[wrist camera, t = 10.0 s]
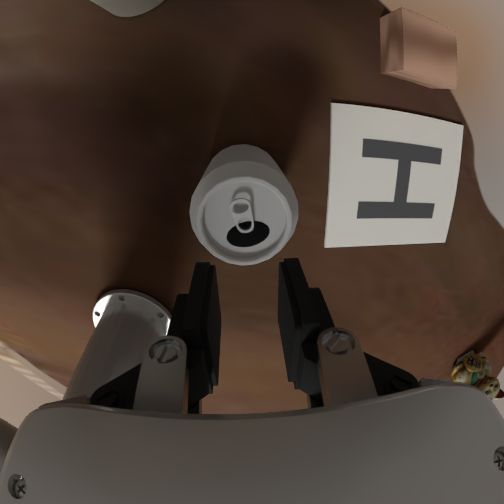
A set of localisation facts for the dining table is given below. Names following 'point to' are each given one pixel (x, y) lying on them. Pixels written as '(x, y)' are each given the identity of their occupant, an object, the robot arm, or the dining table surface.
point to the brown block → (418, 49)
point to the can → (243, 206)
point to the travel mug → (128, 6)
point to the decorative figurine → (477, 374)
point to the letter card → (390, 177)
